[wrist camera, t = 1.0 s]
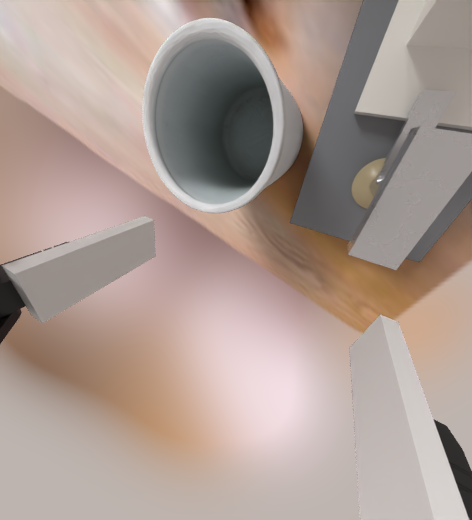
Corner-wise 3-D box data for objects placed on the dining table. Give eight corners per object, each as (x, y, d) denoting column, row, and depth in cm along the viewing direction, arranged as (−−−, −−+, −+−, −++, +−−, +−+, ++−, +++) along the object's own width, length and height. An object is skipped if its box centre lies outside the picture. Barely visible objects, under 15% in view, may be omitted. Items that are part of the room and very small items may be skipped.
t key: (405, 94, 20) (463, 50, 11) (452, 99, 19) (560, 55, 10) (344, 218, 27) (348, 254, 18) (375, 227, 26) (396, 270, 17)
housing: (384, -49, 20) (396, -102, 16) (642, -66, 15) (761, -149, 11) (295, 214, 35) (289, 223, 31) (408, 247, 30) (420, 263, 26)
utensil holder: (324, 159, 30) (312, 169, 16) (244, 202, 38) (192, 233, 24) (284, 51, 26) (224, -58, 12) (206, 124, 34) (118, 109, 21)
